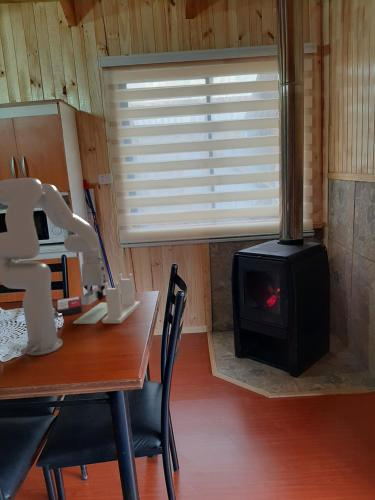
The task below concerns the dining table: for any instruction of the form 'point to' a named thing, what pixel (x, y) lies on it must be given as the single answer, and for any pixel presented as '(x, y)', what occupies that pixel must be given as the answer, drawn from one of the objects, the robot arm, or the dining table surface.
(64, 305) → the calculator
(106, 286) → the rack
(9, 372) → the dining table surface
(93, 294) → the rail
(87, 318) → the mat
